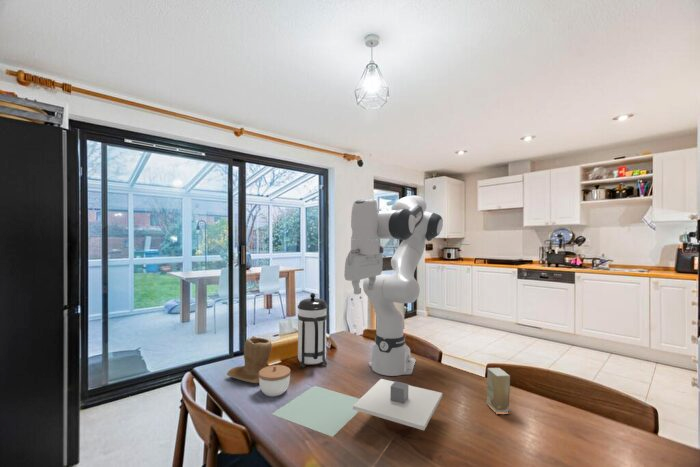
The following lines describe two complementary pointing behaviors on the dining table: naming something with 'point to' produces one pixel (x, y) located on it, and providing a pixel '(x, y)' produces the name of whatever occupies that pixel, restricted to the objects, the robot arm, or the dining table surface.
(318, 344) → the coffee press
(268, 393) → the lidded jar
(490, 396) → the skincare box
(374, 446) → the dining table surface
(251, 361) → the brown boot
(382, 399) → the lid
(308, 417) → the mat
